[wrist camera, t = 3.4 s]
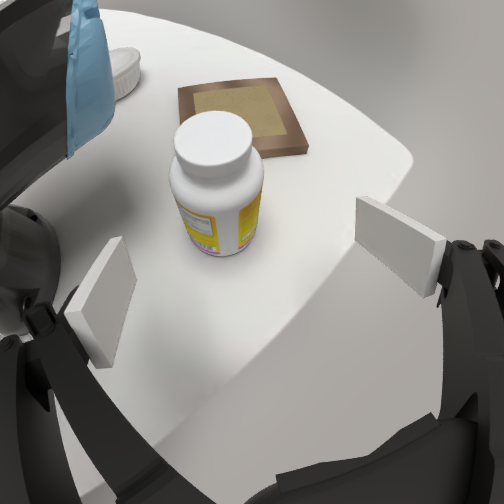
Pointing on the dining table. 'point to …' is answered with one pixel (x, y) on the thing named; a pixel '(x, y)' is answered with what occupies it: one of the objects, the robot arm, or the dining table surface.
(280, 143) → the walnut plinth
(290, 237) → the dining table surface
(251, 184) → the supplement bottle
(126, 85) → the ramekin
